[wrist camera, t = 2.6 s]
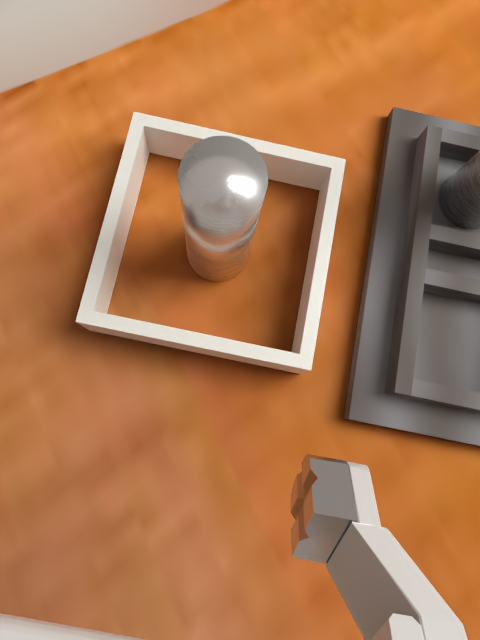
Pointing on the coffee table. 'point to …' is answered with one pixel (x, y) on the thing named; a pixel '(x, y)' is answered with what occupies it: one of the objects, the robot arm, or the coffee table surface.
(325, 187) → the white square frame
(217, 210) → the ball
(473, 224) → the seated billet
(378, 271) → the tray
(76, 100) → the coffee table surface
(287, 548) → the coffee table surface
